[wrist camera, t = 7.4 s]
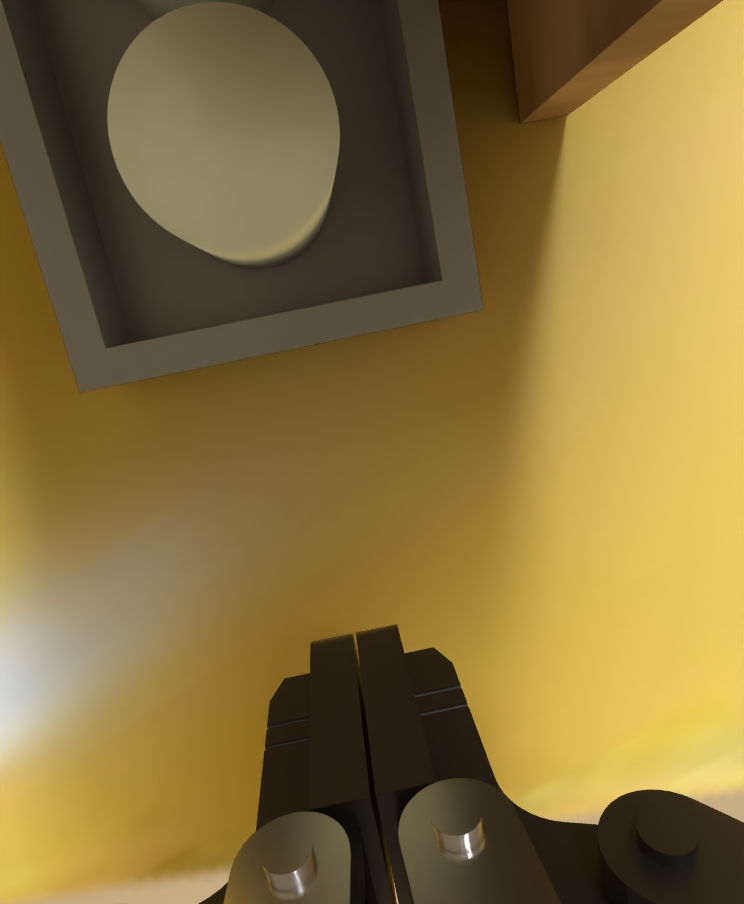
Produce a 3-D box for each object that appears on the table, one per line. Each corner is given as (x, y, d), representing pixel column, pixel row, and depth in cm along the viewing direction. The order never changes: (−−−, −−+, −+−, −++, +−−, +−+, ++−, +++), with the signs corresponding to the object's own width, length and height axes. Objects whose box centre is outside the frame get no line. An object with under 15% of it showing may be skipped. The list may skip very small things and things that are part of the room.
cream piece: (157, 120, 14) (78, 22, 9) (313, 93, 14) (314, -17, 9) (197, 281, 15) (142, 270, 10) (343, 254, 15) (359, 229, 10)
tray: (-47, -177, 13) (-140, -302, 10) (367, -244, 14) (381, -381, 11) (118, 377, 16) (79, 392, 13) (455, 308, 17) (483, 310, 14)
